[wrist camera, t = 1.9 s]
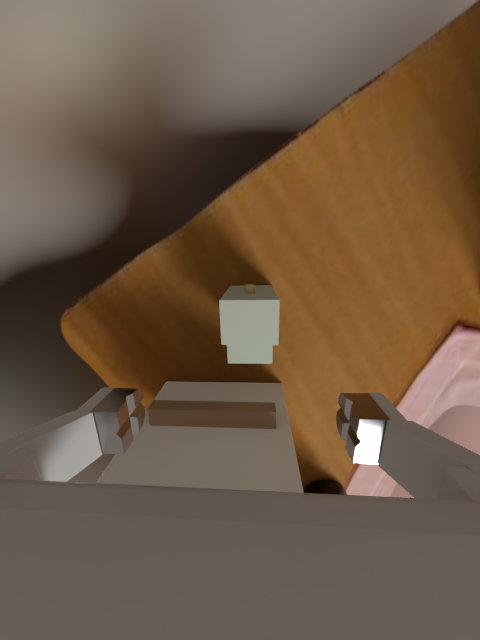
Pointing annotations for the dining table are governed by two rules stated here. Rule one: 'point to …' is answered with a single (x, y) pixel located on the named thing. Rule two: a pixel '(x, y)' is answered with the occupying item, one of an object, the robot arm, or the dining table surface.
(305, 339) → the dining table surface
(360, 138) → the dining table surface
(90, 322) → the dining table surface
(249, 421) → the wall board
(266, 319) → the pale green box
